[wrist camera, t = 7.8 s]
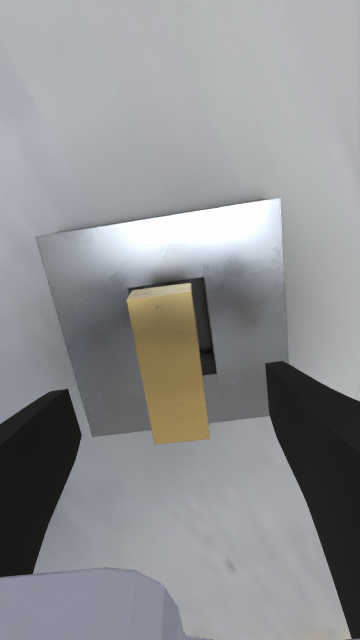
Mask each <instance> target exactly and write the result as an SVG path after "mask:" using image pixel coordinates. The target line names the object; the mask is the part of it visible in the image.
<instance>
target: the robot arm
mask: <svg viewBox="0 0 360 640" xmlns="http://www.w3.org/2000/svg"><path fill="white" fill-rule="evenodd" d="M265 369H266V381H267V394H268V407H269V414H270V418H271V421H272V424H273V427H274V430H275V433H276V437H277V439H278V441H279V443H280V445H281V448H282V450H283V452H284V454H285V456H286V459H287V461H288V463H289V465H290V467H291V469H292V471H293V474H294V476H295V478H296V480H297V482H298V484H299V486H300V489H301V491H302V493H303V495H304V498H305V500H306V502H307V505H308V507H309V510H310V513H311V516H312V519H313V522H314V525H315V527H316V530H317V533H318V536H319V539H320V542H321V545H322V548H323V551H324V554H325V557H326V560H327V563H328V566H329V569H330V572H331V575H332V578H333V581H334V584H335V587H336V590H337V593H338V596H339V600H340V603H341V606H342V609H343V612H344V615H345V618H346V622H347V625H348V628H349V631H350V635H351V638H352V639H347V640H360V401H357V400H355V399H352V398H350V397H348V396H346V395H344V394H341V393H339V392H337V391H335V390H333V389H331V388H329V387H327V386H325V385H324V384H322V383H320V382H318V381H316V380H314V379H313V378H311V377H309V376H308V375H306V374H304V373H303V372H301V371H299V370H298V369H296V368H294V367H293V366H291V365H289V364H288V363H286V362H284V361H278V362H270V363H265ZM81 436H82V434H81V431H80V428H79V424H78V421H77V418H76V414H75V411H74V408H73V405H72V401H71V398H70V395H69V391H68V389H64V390H56V391H51V392H49V393H47V394H45V395H43V396H42V397H40V398H39V399H37V400H36V401H34V402H32V403H31V404H29V405H28V406H26V407H25V408H24V409H22V410H21V411H19V412H18V413H16V414H15V415H13V416H12V417H10V418H9V419H7V420H6V421H4V422H3V423H1V424H0V640H212V639H205V638H198V637H192V636H186V635H185V633H184V631H183V627H182V622H181V618H180V614H179V610H178V607H177V605H176V604H175V602H174V601H173V599H172V598H171V596H170V595H169V593H168V592H167V590H166V589H165V587H164V586H163V585H162V584H161V583H160V582H158V581H156V580H154V579H152V578H150V577H148V576H146V575H144V574H142V573H140V572H138V571H136V570H129V569H118V568H107V567H104V568H93V569H83V570H72V571H62V572H51V573H40V574H33V571H34V568H35V564H36V561H37V558H38V554H39V551H40V548H41V545H42V542H43V538H44V535H45V532H46V530H47V527H48V524H49V522H50V519H51V517H52V515H53V512H54V510H55V507H56V505H57V503H58V500H59V498H60V496H61V493H62V491H63V489H64V486H65V484H66V482H67V479H68V477H69V474H70V472H71V469H72V467H73V465H74V462H75V459H76V456H77V452H78V448H79V444H80V440H81Z"/></svg>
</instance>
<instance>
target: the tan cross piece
mask: <svg viewBox="0 0 360 640" xmlns="http://www.w3.org/2000/svg"><path fill="white" fill-rule="evenodd" d="M127 305H128V310H129V315H130V320H131V325H132V330H133V336H134V341H135V346H136V351H137V356H138V361H139V366H140V371H141V377H142V382H143V387H144V392H145V397H146V402H147V407H148V412H149V418H150V423H151V428H152V433H153V438H154V443H155V444H164V443H174V442H184V441H194V440H203V439H210V433H209V423H208V415H207V407H206V399H205V391H204V381H203V371H202V361H201V351H200V342H199V334H198V326H197V318H196V310H195V303H194V295H193V287H192V283H185V284H177V285H170V286H162V287H154V288H146V289H139V290H132V292H131V293H130V295H129V297H128V298H127Z"/></svg>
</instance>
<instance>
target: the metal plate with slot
mask: <svg viewBox="0 0 360 640" xmlns="http://www.w3.org/2000/svg"><path fill="white" fill-rule="evenodd" d="M35 238H36V241H37V245H38V248H39V252H40V255H41V259H42V262H43V266H44V269H45V273H46V276H47V280H48V283H49V287H50V290H51V294H52V297H53V301H54V304H55V308H56V311H57V315H58V318H59V322H60V325H61V329H62V332H63V336H64V339H65V343H66V346H67V349H68V353H69V356H70V360H71V363H72V367H73V370H74V374H75V377H76V381H77V384H78V388H79V391H80V395H81V398H82V402H83V405H84V409H85V412H86V416H87V419H88V423H89V426H90V430H91V433H92V437H96V436H104V435H113V434H121V433H129V432H138V431H146V430H152V428H151V423H150V418H149V412H148V407H147V402H146V397H145V392H144V387H143V382H142V377H141V371H140V366H139V361H138V356H137V351H136V346H135V341H134V336H133V330H132V325H131V320H130V315H129V310H128V305H127V298H128V297H129V295H130V293H131V292H132V290H138V287H139V286H145V285H152V284H159V283H166V282H173V281H179V280H186V279H193V278H200V277H203V281H204V288H205V296H206V303H207V311H208V318H209V326H210V334H211V341H212V349H213V352H207V353H201V361H202V371H203V381H204V391H205V399H206V407H207V415H208V423H214V422H222V421H231V420H239V419H247V418H256V417H264V416H270V414H269V407H268V394H267V381H266V369H265V363H270V362H278V361H284V362H286V363H288V364H289V362H288V342H287V323H286V304H285V284H284V265H283V246H282V226H281V207H280V198H274V199H263V200H257V201H251V202H245V203H239V204H232V205H226V206H220V207H214V208H207V209H201V210H195V211H189V212H182V213H176V214H170V215H164V216H157V217H151V218H145V219H139V220H132V221H126V222H120V223H114V224H107V225H101V226H95V227H89V228H82V229H76V230H70V231H64V232H57V233H53V234H48V235H43V236H39V237H35Z"/></svg>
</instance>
